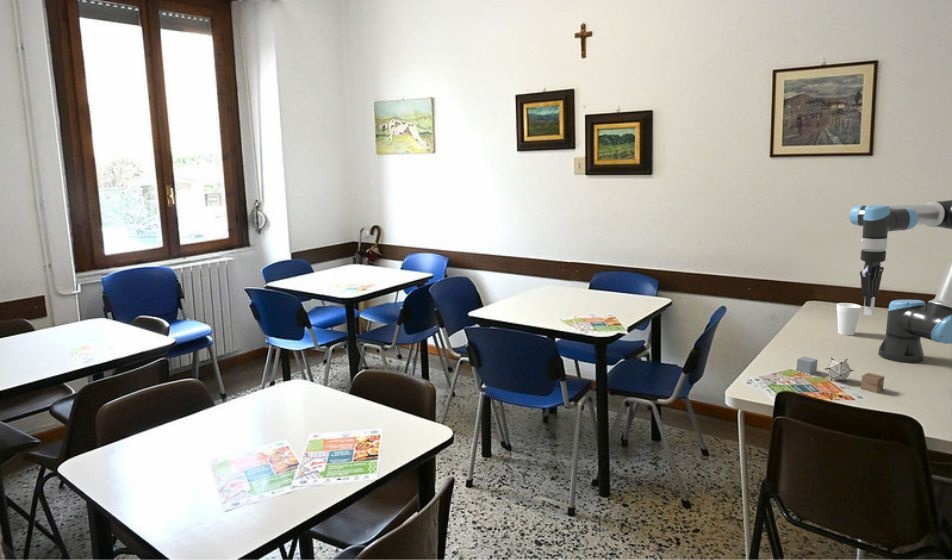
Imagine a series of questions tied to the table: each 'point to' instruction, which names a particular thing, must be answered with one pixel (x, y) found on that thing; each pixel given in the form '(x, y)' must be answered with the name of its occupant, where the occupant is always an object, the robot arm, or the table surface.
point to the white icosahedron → (838, 369)
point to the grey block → (807, 365)
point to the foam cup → (847, 317)
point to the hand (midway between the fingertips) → (868, 314)
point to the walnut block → (872, 382)
